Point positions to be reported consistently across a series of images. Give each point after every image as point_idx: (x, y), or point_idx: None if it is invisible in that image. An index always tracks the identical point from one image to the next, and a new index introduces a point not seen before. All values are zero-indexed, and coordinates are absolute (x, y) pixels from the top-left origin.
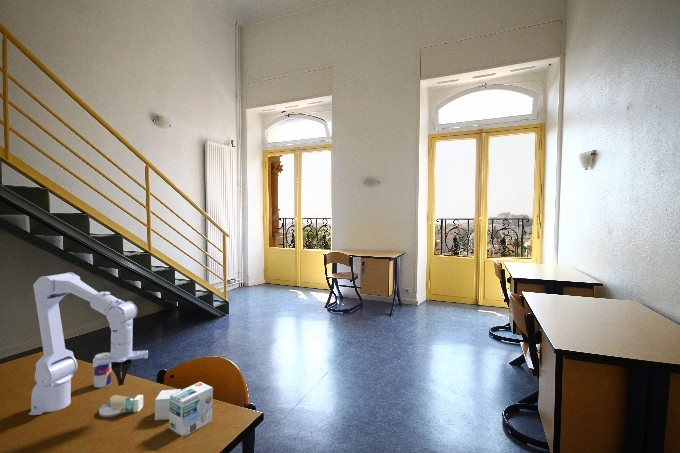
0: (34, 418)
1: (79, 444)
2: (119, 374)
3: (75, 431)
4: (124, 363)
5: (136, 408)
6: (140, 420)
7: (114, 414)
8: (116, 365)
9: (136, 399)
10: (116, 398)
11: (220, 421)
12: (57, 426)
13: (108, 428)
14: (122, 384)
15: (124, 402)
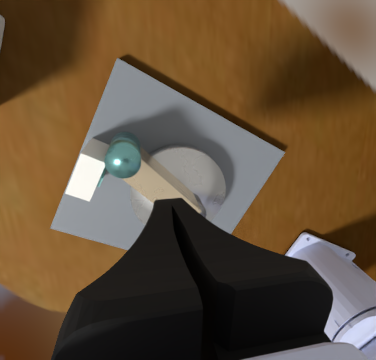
0: (345, 235)
1: (272, 18)
2: (196, 235)
3: (277, 119)
4: (165, 352)
5: (97, 144)
6: (78, 80)
7: (176, 146)
8: (270, 323)
9: (90, 158)
10: (178, 192)
11: None
12: (312, 174)
13: (189, 82)
14: (160, 199)
15: (143, 158)
